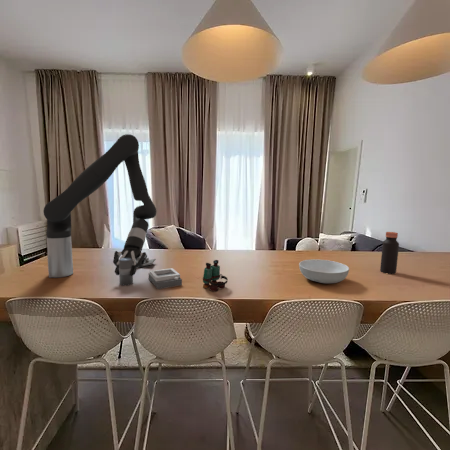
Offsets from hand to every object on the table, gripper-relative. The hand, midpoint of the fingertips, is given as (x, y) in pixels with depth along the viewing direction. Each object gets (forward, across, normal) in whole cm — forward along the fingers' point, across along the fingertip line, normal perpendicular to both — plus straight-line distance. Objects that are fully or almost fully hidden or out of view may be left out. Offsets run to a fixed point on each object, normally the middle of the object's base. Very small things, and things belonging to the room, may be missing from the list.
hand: (124, 274), depth 109 cm
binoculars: (+2, +37, +4) cm, 38 cm away
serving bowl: (-10, +83, +16) cm, 85 cm away
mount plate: (-1, +15, +7) cm, 17 cm away
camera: (-17, -6, +23) cm, 29 cm away
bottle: (-21, +119, +28) cm, 124 cm away
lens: (+2, 0, +4) cm, 5 cm away
